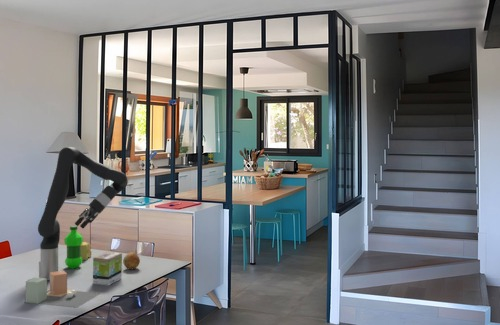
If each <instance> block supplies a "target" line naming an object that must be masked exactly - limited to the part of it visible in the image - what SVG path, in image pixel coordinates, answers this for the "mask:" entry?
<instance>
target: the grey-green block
mask: <svg viewBox="0 0 500 325" xmlns="http://www.w3.org/2000/svg"><path fill="white" fill-rule="evenodd" d="M47 284H48V280H47V279H45V278H39V277H32V278H31V279H29V280H28V279H27V280H26V281H25V302H30V303H29V304H33V303H40V302H42V301H44V300H46V299H47V291H48V288H47V287H48V286H47Z"/></svg>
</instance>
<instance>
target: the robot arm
mask: <svg viewBox="0 0 500 325" xmlns="http://www.w3.org/2000/svg"><path fill="white" fill-rule="evenodd" d="M56 163H57V164H56V168H55V169H56V170H55V173H54V175H53V179H52V182H51V185H50V189H49V192H48V196H47V199H46V204H45V205H44V206H45V208H44V210H43V214H42V215H41V219H40V221H39V223H38V225H37V231H38V234H39V235H40V236H41V237H42V240H41V242H40V247H39V249H40V259H39V260H40V261H39V262H38V278H45V279H47V281H50V272H57V271H59V243H60V235H61V234H60V233H61V227H60V226H61V225H60V222H59V221H58V219H57V216H58V214H59V212H60V210H61V208H62V207H63V205H64V203H65V201H66V198H67V196H68V192H69V188H70V187H69V186H70V181H69V180H70V179H69V177H70V176H69V175H70V171H71V168H72V165H73V164H74V165H78V166H81V167H82V168H85V169H86V170H88V171H89V172H90V173H92V174H93V175H95V176H96V177H98V178H101V179H103V180H105V181H111V182H112V183H111V184H110V185H106V187H104V189H102V191H101V192H100V193H99V194H97V195H96V196H95V198H93V200H91V202H90V203H89V204H88V206H89V207H88V208H87V207H86V208H85V209H84V210H83V211H82V212H81V213H80V214H79V215H78V217H79V218H78V219H77V220H76V221H75V222H74V226H77V227H78V226H79V227H80V228H81V229H84V228H86V226H87V225H88V224H91V223H93V222H94V220H95V219H96V218H97V217H99V215H100V214H101V213H102V212H103V211H104V210H105V209H106V207H108V205H109V204H110V203H111V201H113V199H114V198H115V197H116V196H117V195H118V194H119V193H121V192H122V191H123V190H124V189H125V188H126V187H127V186H128V183H129V180H128V176H127V174H126V173H124V172H122V171H120V170H117V169H114V168H111V167H109V166H107V165H105V164H102V163H101V162H98V161H97V160H95V159H93V158H91V157H89V156H87V155H86V154H84V153H83V152H82V151H81V150H79V149H78V148H76V147H74V146H67V147H66V146H65V147H63V148H62V149H61V150H60V151H59V154H58V157H57V162H56Z"/></svg>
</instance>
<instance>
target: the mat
mask: <svg viewBox="0 0 500 325" xmlns="http://www.w3.org/2000/svg"><path fill="white" fill-rule="evenodd" d="M71 290H72V289H67V293H68V292H70V291H71ZM67 293H65V294H59V295H53V294H51V293H50V289H49V290H48V289H47V299H46V300H44V301H42V302H40V303H32V304H35V305H36V304H37V305H44V306H45V305H46V306H53V307H54V306H56V307H64V308H73V309H75V308H76V309H77V308H79V307H80V306H82V305H84V304H86V303H87V302H89V301H91V300H93V299H94V298H96V297H98V296H99V295H101V294H102V292H91V291H83V290H80V291H79V290H76V295H75V296H72V298H67V296H66V295H67ZM25 303H26V304H31V303H30V302H26V301H24V304H25Z"/></svg>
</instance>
